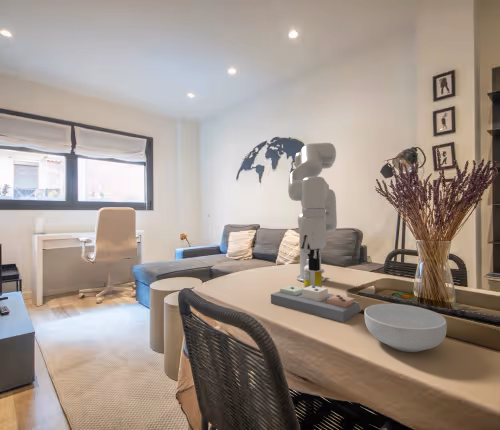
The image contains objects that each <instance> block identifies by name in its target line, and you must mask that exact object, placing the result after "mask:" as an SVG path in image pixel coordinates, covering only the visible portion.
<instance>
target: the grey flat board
mask: <svg viewBox="0 0 500 430" xmlns="http://www.w3.org/2000/svg"><path fill="white" fill-rule="evenodd" d="M334 295H335V294H333V293H328V298H330V297H332V296H334ZM328 298H326V299H324V300H322V301H320V302H317V301H313V300H309V299H304V298H302V294H300V295H297V296H292V295H287V294H283V293H280V290H279V291H276V292H273V293H270V304H273V305H277V306H280V307H285V308H288V309H292V310H295V311H299V312H303V313H307V314H310V315H314V316H317V317H322V318H325V319H329V320H334V321H336V322H341V323H344V322H346V321H348V320H350V319H351V318H352V317H354V316H355V315H358V314H359V313H360V312H361V311H360V306H359V302H356V301H354V304H353V305H352V306H350V307H348V308H343V307H339V306H335V305H330V304H327V299H328Z"/></svg>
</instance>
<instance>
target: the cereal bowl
mask: <svg viewBox="0 0 500 430" xmlns="http://www.w3.org/2000/svg"><path fill="white" fill-rule="evenodd" d="M364 321H365V322H364V323H365V327H366V328H367V330H368V331H369V333H370V334H371V335H372V336H373V338H375V339H377V340H378V341H380V342H381V343H383V344H386V345H387V346H389V347H390V348H392V349H395V350H398V351H401V352H407V353H418V352H422V351H424V350H430V349H433V348H435V347H437V346H438V347H439V345H441V343H442V342H443V341H444V340H445V338H446V335H447V328H448V327H447V326H448V324H447V320H446V318H445V317H444V315H441V314H440V313H438V312H436V311H433V310H430V309H427V308H423V307H421V306H417V305H416V306H415V305H409V304H403V303H378V304H377V303H376V304H372V305H369V306H367V307H366V308H365V309H364Z"/></svg>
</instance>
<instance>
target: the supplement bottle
mask: <svg viewBox="0 0 500 430" xmlns="http://www.w3.org/2000/svg"><path fill="white" fill-rule="evenodd" d="M322 269H323V268H322V266H321V267H320V270H319V271H312V270H309V259H307V266H305V267H304V282H303V283H304V284H303V285H304V286H303V288H306V287H309V286H317V287H322V288H323V282H322V276H323V273H322Z"/></svg>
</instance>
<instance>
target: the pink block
mask: <svg viewBox="0 0 500 430" xmlns="http://www.w3.org/2000/svg"><path fill="white" fill-rule="evenodd" d="M333 295H334V296H332V297H330V298H328V299H327V304H330V305H335V306H339V307H343V308H348V307H350V306H352V305H353V304H354V299H355V297H350V296H344V295H341V294H333Z"/></svg>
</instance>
